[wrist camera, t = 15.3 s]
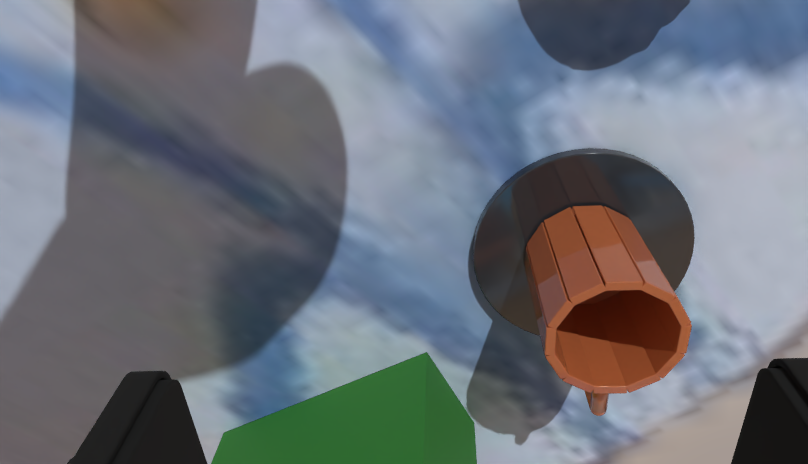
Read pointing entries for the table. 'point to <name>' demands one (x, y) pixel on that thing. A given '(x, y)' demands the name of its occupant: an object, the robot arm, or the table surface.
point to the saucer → (566, 187)
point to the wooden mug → (603, 304)
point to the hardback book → (363, 424)
